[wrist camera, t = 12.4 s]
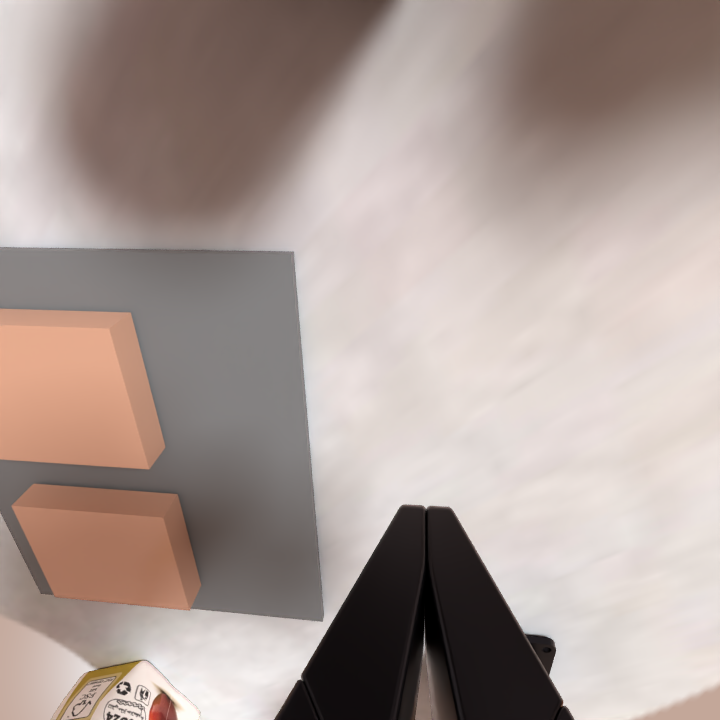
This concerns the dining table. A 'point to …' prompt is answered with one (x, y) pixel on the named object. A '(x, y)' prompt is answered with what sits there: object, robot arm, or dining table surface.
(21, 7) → the dining table surface
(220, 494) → the mat
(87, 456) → the tile
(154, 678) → the juice carton
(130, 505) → the tile
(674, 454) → the dining table surface
